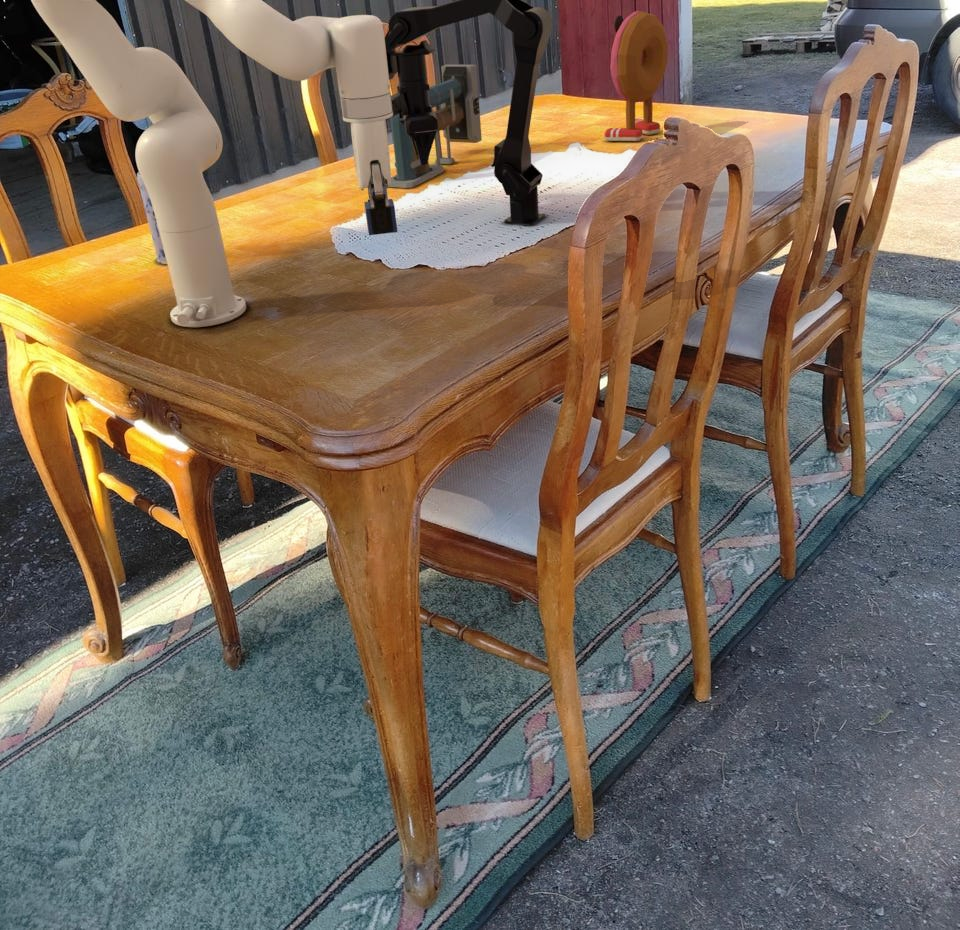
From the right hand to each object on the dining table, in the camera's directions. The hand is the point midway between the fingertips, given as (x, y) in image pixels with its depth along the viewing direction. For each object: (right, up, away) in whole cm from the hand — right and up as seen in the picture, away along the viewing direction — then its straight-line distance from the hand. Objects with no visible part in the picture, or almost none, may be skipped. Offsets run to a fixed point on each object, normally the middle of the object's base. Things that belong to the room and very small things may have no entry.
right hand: (421, 159), depth 199 cm
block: (-3, -26, -46) cm, 53 cm away
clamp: (+1, +11, +42) cm, 43 cm away
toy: (+53, +24, +56) cm, 81 cm away
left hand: (-3, -25, -46) cm, 53 cm away
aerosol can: (-48, -21, -6) cm, 53 cm away
